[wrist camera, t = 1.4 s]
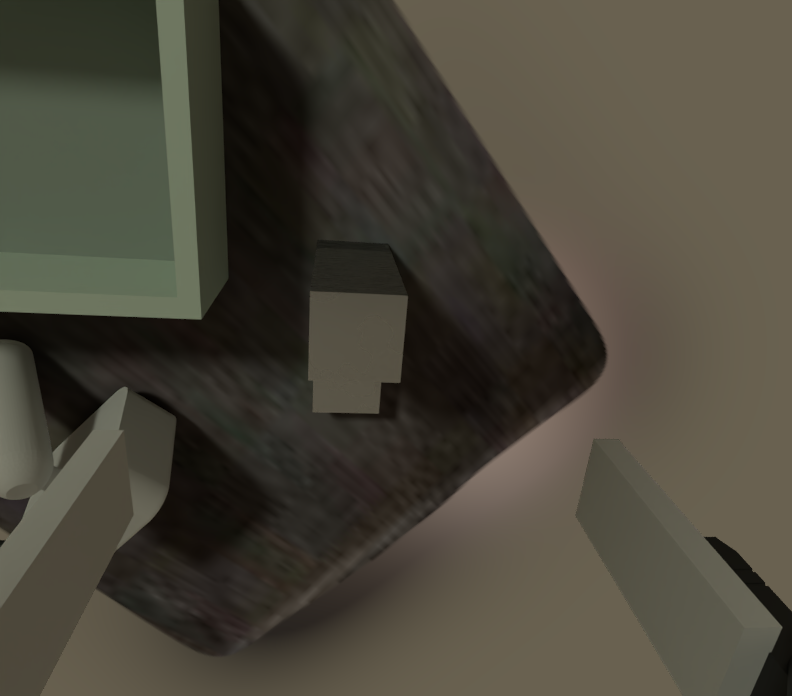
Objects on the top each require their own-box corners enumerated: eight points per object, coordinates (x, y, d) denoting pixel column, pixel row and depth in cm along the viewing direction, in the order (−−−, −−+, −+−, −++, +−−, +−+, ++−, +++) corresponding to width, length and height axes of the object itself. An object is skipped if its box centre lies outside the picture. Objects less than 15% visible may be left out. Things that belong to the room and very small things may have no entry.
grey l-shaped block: (317, 239, 32) (310, 291, 23) (387, 243, 32) (408, 295, 23) (313, 396, 36) (305, 495, 26) (376, 398, 36) (390, 495, 27)
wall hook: (25, 291, 31) (-46, 403, 23) (180, 389, 37) (167, 506, 29) (-63, 383, 32) (-159, 518, 24) (99, 463, 38) (66, 594, 30)
